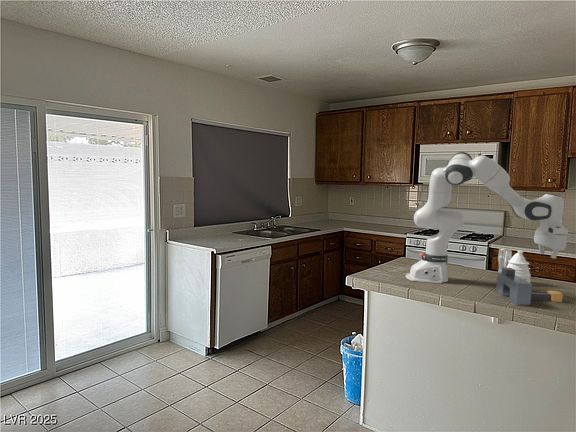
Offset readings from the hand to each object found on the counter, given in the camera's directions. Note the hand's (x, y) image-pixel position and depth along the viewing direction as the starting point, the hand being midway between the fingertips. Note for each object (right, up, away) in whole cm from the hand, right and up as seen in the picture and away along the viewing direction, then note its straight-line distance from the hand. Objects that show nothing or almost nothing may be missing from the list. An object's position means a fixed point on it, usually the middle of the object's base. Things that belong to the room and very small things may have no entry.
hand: (547, 256), depth 198 cm
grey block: (-19, -20, -4) cm, 28 cm away
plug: (-7, -20, -4) cm, 22 cm away
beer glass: (+2, -16, +44) cm, 47 cm away
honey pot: (0, -18, +26) cm, 31 cm away
